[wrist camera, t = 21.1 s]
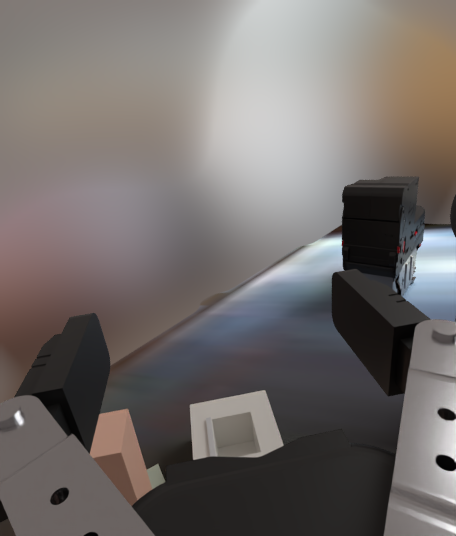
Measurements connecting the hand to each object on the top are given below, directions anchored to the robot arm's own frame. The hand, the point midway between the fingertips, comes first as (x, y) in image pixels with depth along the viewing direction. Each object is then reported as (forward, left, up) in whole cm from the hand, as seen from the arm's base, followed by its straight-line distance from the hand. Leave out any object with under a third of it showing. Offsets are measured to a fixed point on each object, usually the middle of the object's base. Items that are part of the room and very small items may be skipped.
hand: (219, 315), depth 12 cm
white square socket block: (-7, -18, -34) cm, 39 cm away
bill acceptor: (-55, -38, -34) cm, 75 cm away
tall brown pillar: (+6, -18, -33) cm, 38 cm away
